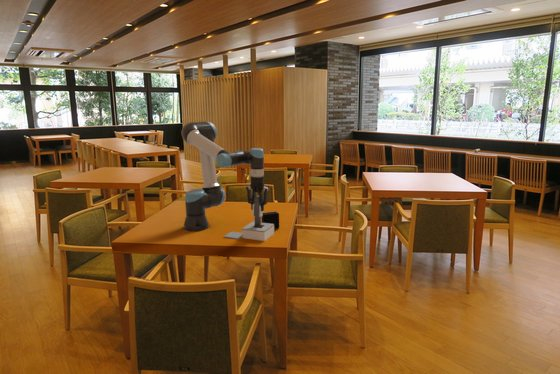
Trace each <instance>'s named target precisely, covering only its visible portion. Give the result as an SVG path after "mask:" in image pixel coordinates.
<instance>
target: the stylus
mask: <svg viewBox="0 0 560 374" xmlns="http://www.w3.org/2000/svg"><path fill="white" fill-rule="evenodd" d="M260 205H261V204H260V199H259V195H256V196H254V216H253V217H254V222H255V226H260V225H261V223H262V216H261V217H259V206H260Z"/></svg>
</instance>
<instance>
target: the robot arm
mask: <svg viewBox="0 0 560 374" xmlns="http://www.w3.org/2000/svg"><path fill="white" fill-rule="evenodd" d="M217 135H218V130H217V127H216V126H215V124H213V123H212V122H211V121H197V122H196V121H195V122H193V121H192V122H188V123H186V124H185V125H183V127H182V129H181V137H182V140H183V141H184V142H186V143H187V144H189V145H191V146H194V147H196V148H197V149H198V151H199V158H200V159H199V161H200V167H201V174H202V179H203V185H202V186H201V188H196V189H195V188H194V189H189V190H188V191H186V192H185V194H184V203H185V219H184V223H183V229H184V230H186V231H190V232H196V231H198V232H199V231H203V230H206V229H208V228H209V227H210V226H209V224H210V222H209V221H208V218H207V216H206V209H210V208H213V207H218V206H221V205H222V204H223V203H224V202H225V200H226V191H225V190H224V188H223V187H221V184H220V183H218V179H217V170H216V169H217V168H216V164H217V166H218V167H220V168H228V167H234V166H239V165H249V166H250V167H249V168H250V184H249V185H247V186H246V187H245V188H246V191H247V192H246V193H247V194H246V196H247V203H248V204H250V209H251V211H252V217H255V216H254V196H257V194H258V196H259V199H260V204H261V205H260V206H259V217H261V218H262V216H263V213H264V212H263V211H265V206H266V205H267V204H268V194H269V190H270V188H269V187H267V186H265V177H264V176H265V171H264V170H265V166H264V163H265V162H264V161H265V155H264V154H265V153H264V149H263V148H262V147H252V148H250V150H245V149H241V150H240V149H237V150H236V151H231V152H230V151H228V150H226V149H224V148H223V147H221V146H220V145H218V144H217V143H215V140H216V139H217ZM215 162H216V163H215ZM263 191H264V192H263Z"/></svg>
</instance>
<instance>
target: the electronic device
mask: <svg viewBox="0 0 560 374" xmlns="http://www.w3.org/2000/svg"><path fill="white" fill-rule="evenodd" d="M261 223H270V224H274V230H278V229H280V213H279V212H278V211H269V212H263V216H261Z"/></svg>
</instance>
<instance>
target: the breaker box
mask: <svg viewBox="0 0 560 374" xmlns="http://www.w3.org/2000/svg"><path fill="white" fill-rule="evenodd" d="M241 233H242V237H241V238H242V239H244V240H245V239H248V240H252V241H253V240H254V241H262V242H263V241H264V242H265V241H267V240H268V239H270V237H272V236H273V235H274V234H275V229H274V224H270V223H262V222H261V225H260V226H255V221H251V222H250V223H248V224H247V225H245V226H244V227H242V228H241Z"/></svg>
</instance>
